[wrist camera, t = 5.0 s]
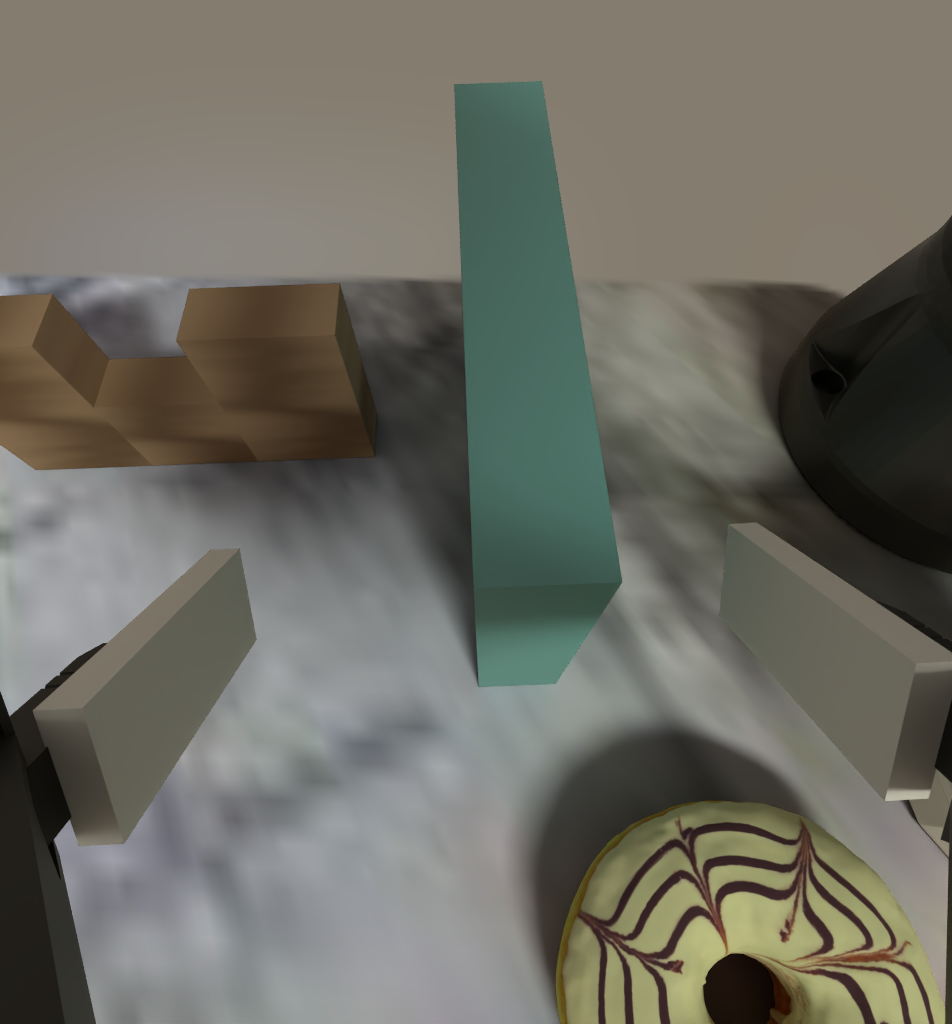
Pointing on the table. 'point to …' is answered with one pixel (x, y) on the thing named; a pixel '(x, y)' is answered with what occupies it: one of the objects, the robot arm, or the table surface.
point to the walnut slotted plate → (189, 384)
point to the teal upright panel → (526, 398)
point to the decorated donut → (738, 924)
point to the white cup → (935, 809)
